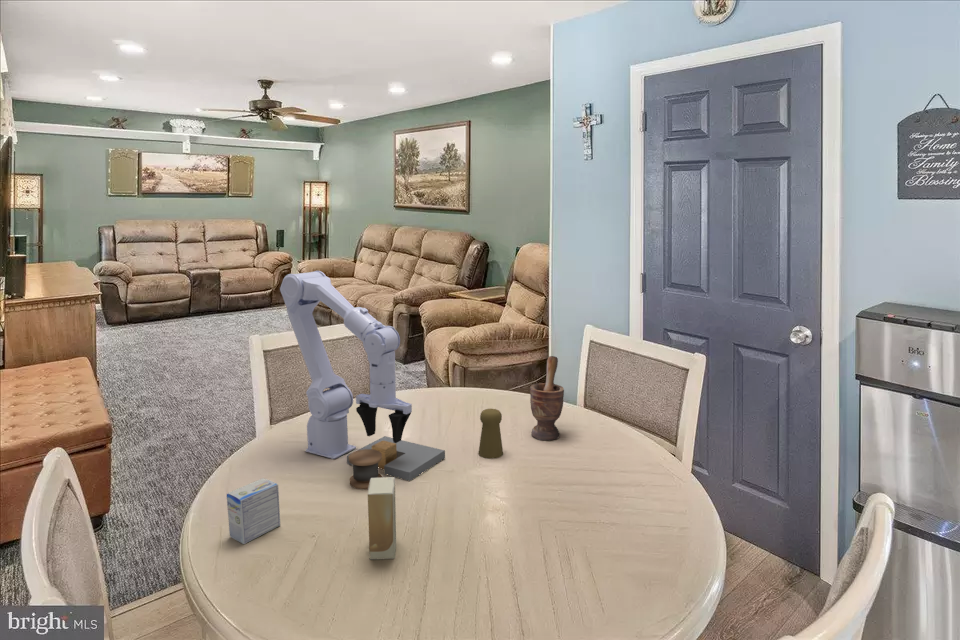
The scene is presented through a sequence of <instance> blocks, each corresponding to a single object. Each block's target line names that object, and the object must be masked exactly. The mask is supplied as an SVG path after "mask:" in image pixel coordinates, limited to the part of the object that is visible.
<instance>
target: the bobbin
mask: <svg viewBox="0 0 960 640" xmlns="http://www.w3.org/2000/svg"><path fill="white" fill-rule="evenodd" d="M357 450H358V451H357ZM357 450H355V451H353V452H351V453H349V454H350V455H349V454H348V455H349V462H350V463H351V464H353V465H352V475H351V476H350V477H349V486H351V487H352V488H353V489H358V490H368V488H369V483H370V479H371V478H381V477H383V475H382V474H381V473H379V468H378V462H380V461H381V459H382V454H381V452H379V451H377V450H372V449H364V450H359V449H357Z"/></svg>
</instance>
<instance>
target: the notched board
mask: <svg viewBox="0 0 960 640" xmlns="http://www.w3.org/2000/svg"><path fill="white" fill-rule="evenodd" d="M383 440H384V441H388V442H391V443H394V442H393V437H389V436H382V437H380V438H379V439H377V440H375V441H372V442H371V443H369V444H367V445H365V446H363V447H361V448H358V449H357V450H356V451H358V450H364V449H372V446H373V445H375V444H377V443H379V442H381V441H383ZM395 444H396V448H397V459H395V460H393V461H391V462H390V463H388V464H386V465H384V470H383V471H384V472H383V473H385V474H384V475H386V474H388V475H387V476H390V475H391V476H390V477H393V476H395V478H397V477H399V478H398V479H400V478H402V479H401V480H404V479H405V481H408V480H409V481H408V482H410V480H411V481H412V480H414V479H415V478H417V477H419V476H420V475H421V473H422V472H423V473H425V472H426V471H428V470H429V469H431V468H432V467H434V466H435V465H437V464H438V462H439V463H440V462H441V460H442V459H443V460H445V459H446V451H445V450H444V449H440V448H437V447H432V446H427V445H424V444H419V443H416V442H413V441H407V440H403V439H401V441H399V442H397V443H395ZM350 454H351V453H349V454H346V464H347V465H350V466H353V464H351V463H350V462H349V455H350ZM444 458H445V459H444ZM443 460H442V461H443ZM436 463H437V464H436ZM433 465H434V466H433ZM430 467H431V468H430ZM427 469H428V470H427ZM424 471H425V472H424ZM423 473H422V474H423ZM419 474H420V475H419ZM416 476H417V477H416ZM413 478H414V479H413Z"/></svg>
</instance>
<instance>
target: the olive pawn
mask: <svg viewBox="0 0 960 640" xmlns="http://www.w3.org/2000/svg"><path fill="white" fill-rule="evenodd" d="M502 415H503V414H502V412H501V411H500V410H498V409H496V408H486V409H484V410H482V411H481V412H480V415H479V417H480V418H479V419H480V422H481V423H482V426H481V432H480V439H479V448H478V453H477V454H478V456H479V457H481V458H484V459H491V460H492V459H499V458H501V457H503V455H504V449H503V441H502V440H503V439H502V433H501V427H500V426H501V425H500V424H501V422H502V420H503V419H502V418H503V417H502Z"/></svg>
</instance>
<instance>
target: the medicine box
mask: <svg viewBox="0 0 960 640" xmlns="http://www.w3.org/2000/svg"><path fill="white" fill-rule="evenodd" d="M226 504H227V505H226V506H227V516H228V518H227V519H228V531H229V537H230V538H231V539H233V540H235V541H237V542H238V543H240V544H241V545H245V544H247V543H249V542H251V541H253V540H255V539H256V538H259V537H261V536H263V535H265V534H267V533H268V532H270V531H273V530H274V529H276V528H278V527H281V515H280V513H281V512H280V511H281V510H280V508H281V507H280V492H279V484H278V483H277V482H274V481H272V480H270V479H267V478H264V477H262V478H260V479H257V480H256V481H253V482H251V483H248V484H246V485H243V486H241V487H239V488H236V489H235V490H232V491H230V492H228V493H226Z"/></svg>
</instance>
